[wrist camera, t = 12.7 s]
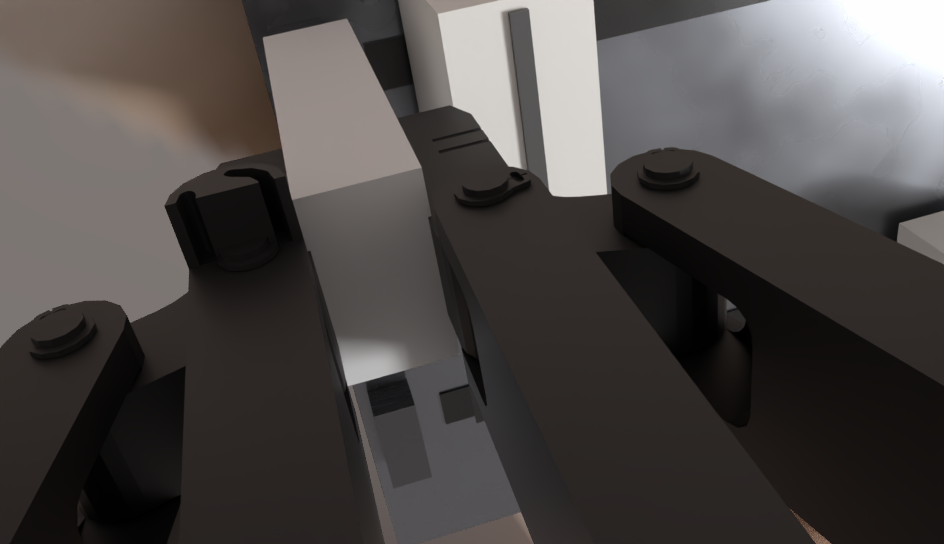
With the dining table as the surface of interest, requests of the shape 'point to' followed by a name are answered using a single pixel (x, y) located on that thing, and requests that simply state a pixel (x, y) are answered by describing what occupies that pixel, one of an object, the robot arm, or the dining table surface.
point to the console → (662, 126)
